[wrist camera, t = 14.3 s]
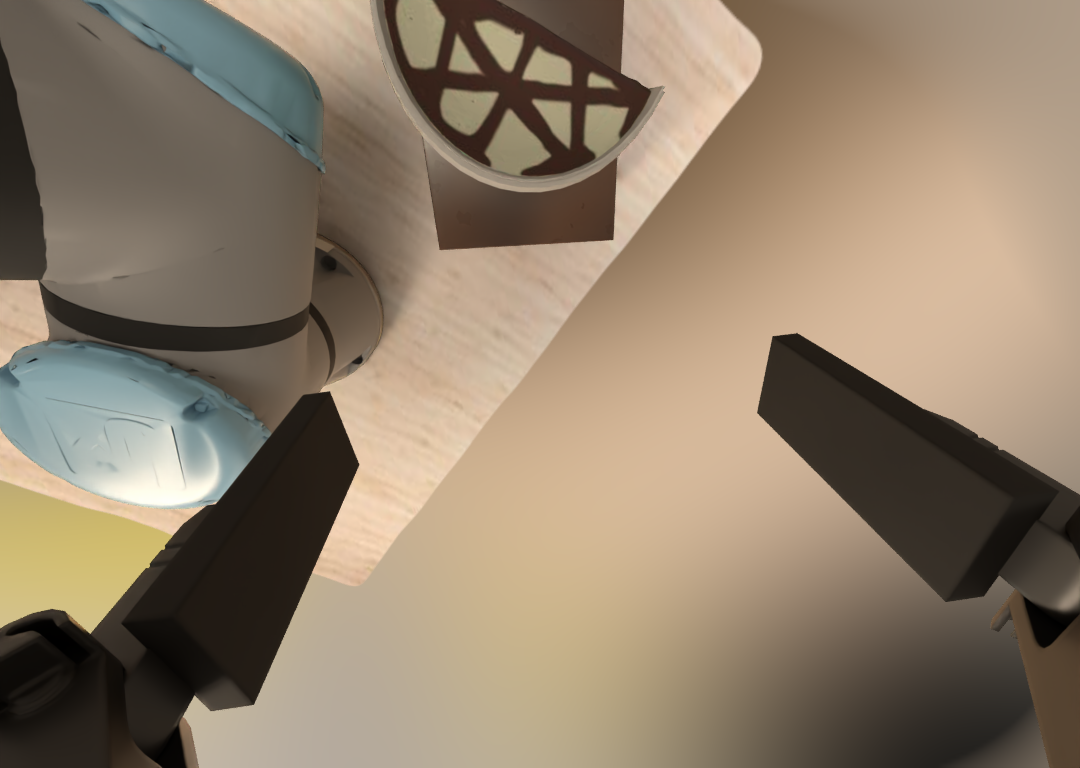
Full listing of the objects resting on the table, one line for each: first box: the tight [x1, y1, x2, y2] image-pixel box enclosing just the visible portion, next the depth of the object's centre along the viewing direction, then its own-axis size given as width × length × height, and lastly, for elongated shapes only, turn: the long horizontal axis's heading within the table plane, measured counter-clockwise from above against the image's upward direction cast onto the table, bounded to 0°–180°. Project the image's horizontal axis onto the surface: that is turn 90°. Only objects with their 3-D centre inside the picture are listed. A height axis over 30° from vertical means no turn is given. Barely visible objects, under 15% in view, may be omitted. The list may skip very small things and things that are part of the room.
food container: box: [370, 0, 665, 192], centre depth 20 cm, size 12×6×10 cm, turn 67°
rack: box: [422, 0, 624, 250], centre depth 30 cm, size 12×15×12 cm
